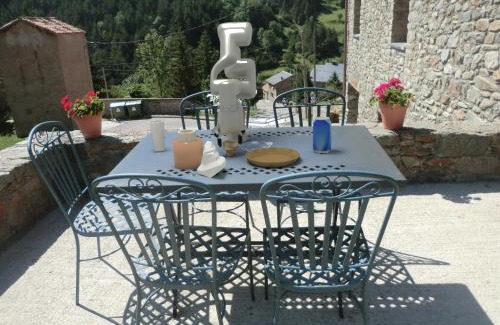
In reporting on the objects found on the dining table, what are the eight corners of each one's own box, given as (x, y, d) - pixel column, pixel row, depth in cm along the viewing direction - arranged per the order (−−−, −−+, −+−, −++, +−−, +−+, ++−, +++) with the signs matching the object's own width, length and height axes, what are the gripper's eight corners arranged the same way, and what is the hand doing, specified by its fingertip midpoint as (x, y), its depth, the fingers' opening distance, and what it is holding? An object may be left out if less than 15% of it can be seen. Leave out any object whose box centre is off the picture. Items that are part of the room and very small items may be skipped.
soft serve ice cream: (194, 182, 170) (184, 148, 168) (206, 173, 184) (196, 142, 182) (223, 175, 167) (213, 140, 165) (232, 166, 181) (223, 134, 179)
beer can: (332, 149, 201) (333, 116, 196) (328, 154, 194) (328, 120, 189) (315, 148, 205) (315, 115, 200) (310, 153, 197) (310, 119, 193)
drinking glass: (163, 152, 208) (160, 122, 204) (150, 152, 210) (147, 122, 205) (168, 148, 215) (165, 119, 210) (156, 148, 216) (153, 119, 212)
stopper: (235, 152, 204) (234, 139, 202) (240, 156, 197) (239, 142, 195) (221, 154, 201) (220, 141, 199) (225, 158, 195) (225, 144, 193)
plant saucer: (286, 151, 204) (285, 144, 203) (309, 164, 182) (309, 157, 181) (238, 157, 196) (238, 150, 195) (257, 172, 174) (257, 165, 173)
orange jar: (199, 158, 196) (197, 126, 191) (207, 166, 184) (205, 132, 180) (171, 162, 192) (168, 130, 187) (177, 170, 180) (174, 136, 175)
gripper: (243, 105, 199) (244, 141, 204) (207, 109, 193) (210, 145, 198) (248, 108, 192) (250, 144, 197) (212, 111, 187) (214, 149, 191)
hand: (230, 145), depth 198 cm, fingers open, 9 cm apart
